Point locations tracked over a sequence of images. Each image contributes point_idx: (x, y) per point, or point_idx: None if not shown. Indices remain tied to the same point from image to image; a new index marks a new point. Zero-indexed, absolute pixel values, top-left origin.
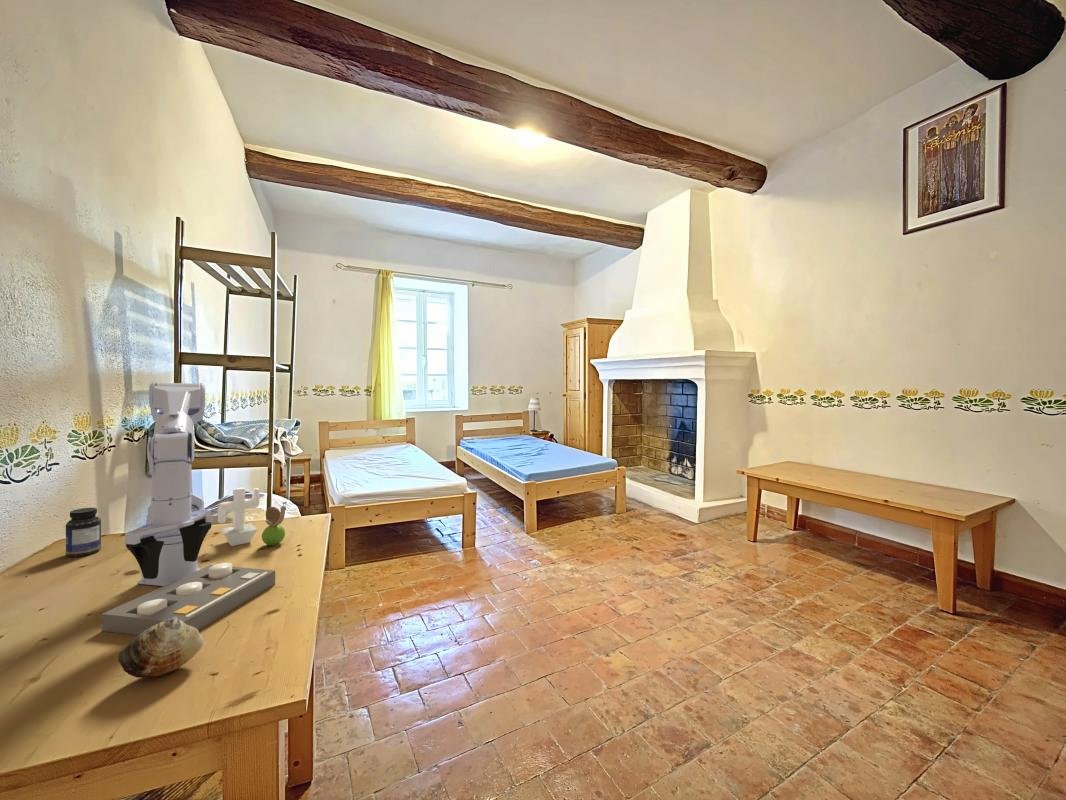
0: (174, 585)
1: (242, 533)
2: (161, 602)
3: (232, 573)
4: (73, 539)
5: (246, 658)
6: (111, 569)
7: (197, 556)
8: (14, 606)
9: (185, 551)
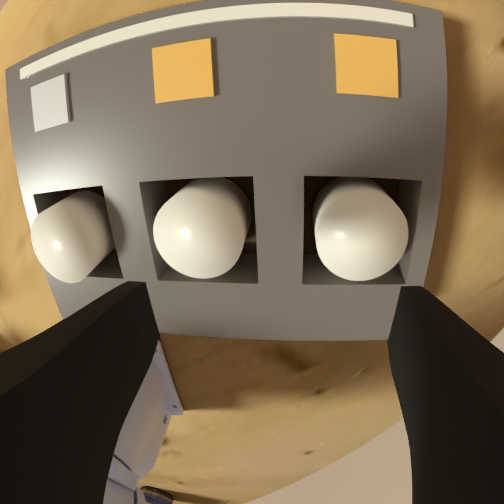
0: (197, 309)
1: None
2: (346, 217)
3: None
4: None
5: None
6: (167, 461)
7: (112, 290)
8: (304, 474)
9: (135, 375)
